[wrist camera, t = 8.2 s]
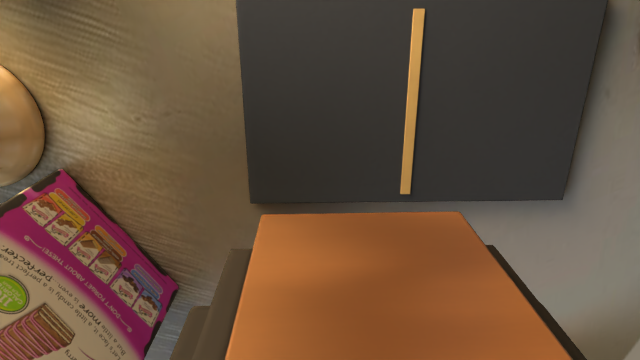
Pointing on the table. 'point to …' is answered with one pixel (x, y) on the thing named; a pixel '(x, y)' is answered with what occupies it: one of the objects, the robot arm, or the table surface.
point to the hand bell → (18, 130)
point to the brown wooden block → (382, 293)
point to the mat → (413, 97)
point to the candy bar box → (74, 279)
